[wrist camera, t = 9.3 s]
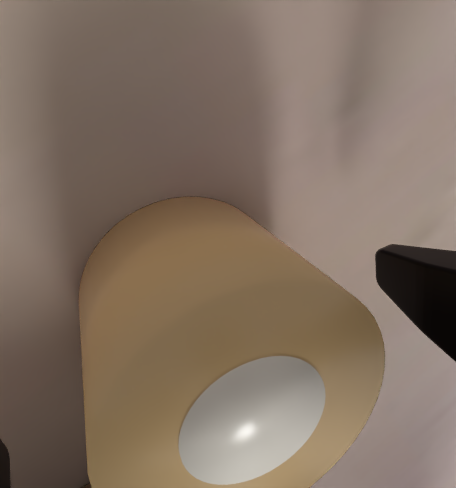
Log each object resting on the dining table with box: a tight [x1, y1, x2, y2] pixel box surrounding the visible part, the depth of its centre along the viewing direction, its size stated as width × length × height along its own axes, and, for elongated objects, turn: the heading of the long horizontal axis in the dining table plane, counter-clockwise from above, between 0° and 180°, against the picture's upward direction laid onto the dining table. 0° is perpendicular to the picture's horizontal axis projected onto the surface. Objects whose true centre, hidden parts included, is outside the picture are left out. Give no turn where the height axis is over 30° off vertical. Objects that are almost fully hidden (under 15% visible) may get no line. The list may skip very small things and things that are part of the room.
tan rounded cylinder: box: [79, 197, 385, 488], centre depth 8 cm, size 5×5×4 cm
